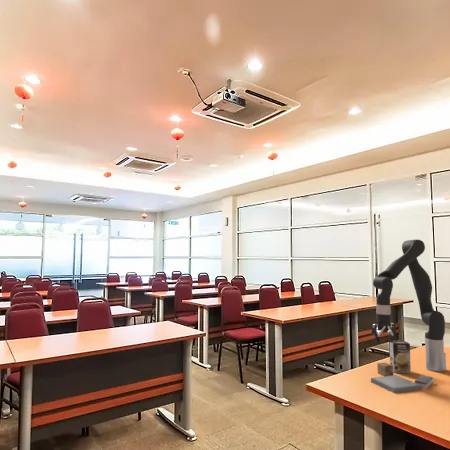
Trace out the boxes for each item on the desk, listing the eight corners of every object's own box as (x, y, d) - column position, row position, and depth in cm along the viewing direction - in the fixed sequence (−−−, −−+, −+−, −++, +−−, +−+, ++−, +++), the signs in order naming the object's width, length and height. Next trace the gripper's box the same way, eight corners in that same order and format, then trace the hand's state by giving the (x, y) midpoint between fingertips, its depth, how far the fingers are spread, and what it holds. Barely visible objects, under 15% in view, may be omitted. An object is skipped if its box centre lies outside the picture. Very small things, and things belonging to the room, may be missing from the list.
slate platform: (396, 378, 192) (396, 374, 192) (421, 389, 177) (420, 385, 177) (371, 381, 187) (370, 377, 187) (394, 393, 172) (394, 388, 172)
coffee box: (393, 372, 202) (392, 343, 204) (389, 369, 209) (388, 340, 210) (411, 373, 201) (410, 343, 203) (406, 369, 208) (405, 341, 209)
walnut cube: (385, 372, 203) (385, 362, 203) (393, 375, 198) (392, 365, 198) (377, 373, 201) (377, 363, 202) (384, 376, 196) (384, 366, 197)
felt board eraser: (422, 381, 190) (421, 375, 190) (432, 383, 186) (432, 377, 186) (415, 387, 181) (414, 380, 181) (426, 389, 178) (425, 382, 178)
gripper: (389, 311, 208) (389, 340, 207) (368, 312, 204) (368, 342, 203) (399, 313, 201) (399, 343, 200) (377, 314, 197) (378, 345, 195)
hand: (384, 342), depth 201 cm, fingers open, 8 cm apart
